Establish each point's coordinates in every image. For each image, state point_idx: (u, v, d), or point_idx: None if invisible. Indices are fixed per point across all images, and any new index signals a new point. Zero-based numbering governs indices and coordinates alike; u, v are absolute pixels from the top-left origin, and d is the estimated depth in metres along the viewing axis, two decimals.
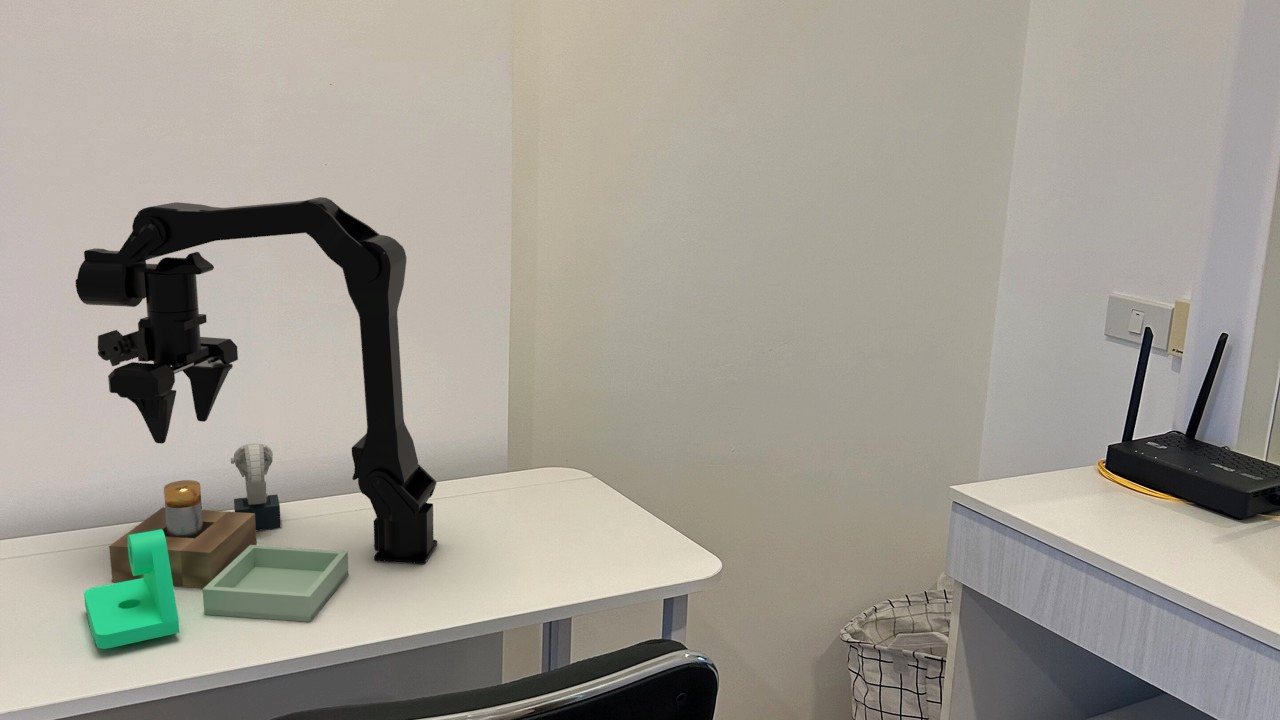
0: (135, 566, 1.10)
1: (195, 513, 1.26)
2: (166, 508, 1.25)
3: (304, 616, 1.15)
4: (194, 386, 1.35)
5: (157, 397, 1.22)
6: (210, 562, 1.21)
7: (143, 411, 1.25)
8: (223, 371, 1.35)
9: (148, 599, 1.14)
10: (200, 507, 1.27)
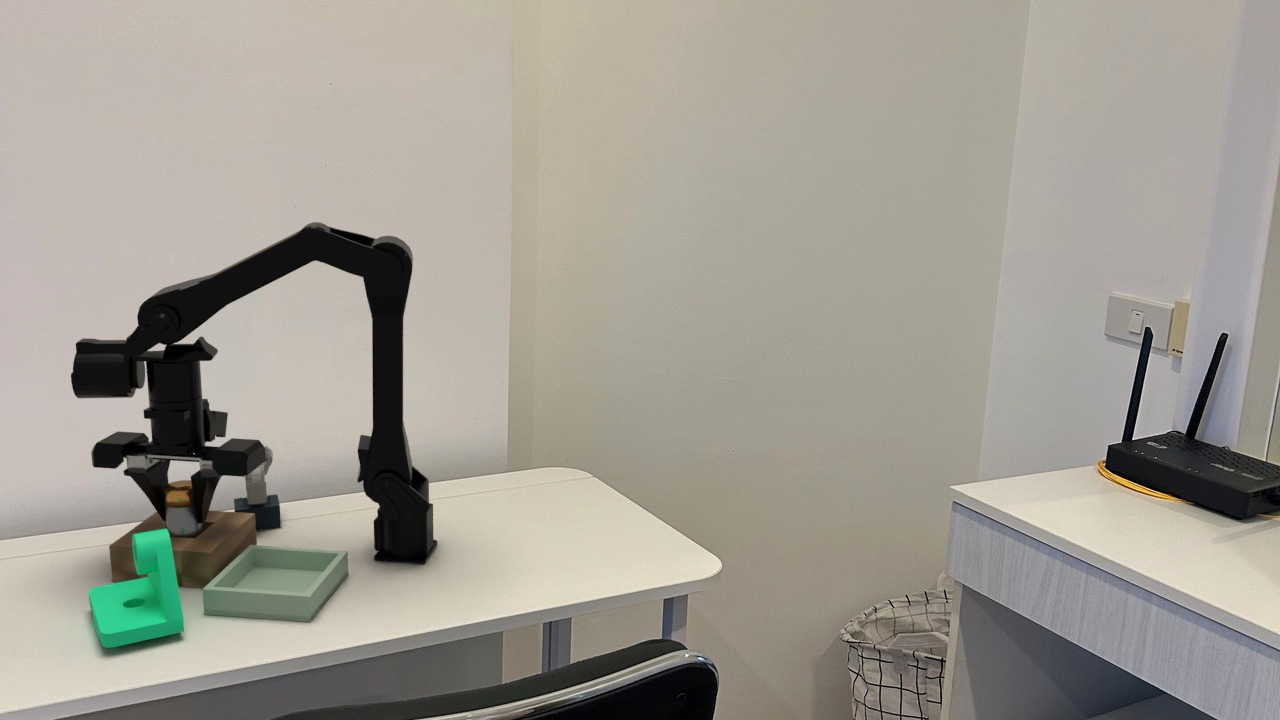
0: (140, 565, 1.11)
1: (195, 513, 1.26)
2: (166, 508, 1.25)
3: (304, 616, 1.15)
4: None
5: (124, 471, 1.23)
6: (210, 562, 1.21)
7: None
8: (191, 478, 1.22)
9: (152, 598, 1.14)
10: None
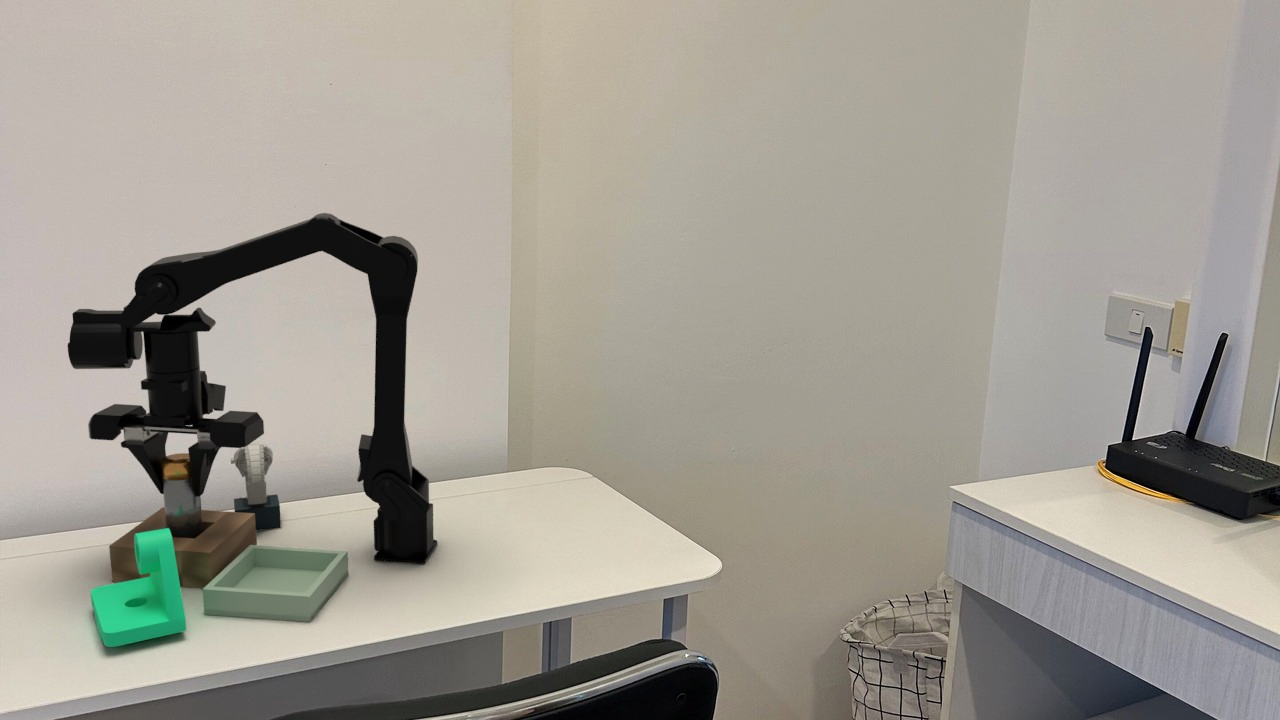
0: (142, 564, 1.11)
1: (192, 486, 1.25)
2: (163, 481, 1.24)
3: (304, 616, 1.15)
4: None
5: (121, 443, 1.23)
6: (210, 562, 1.21)
7: None
8: (189, 450, 1.22)
9: (154, 597, 1.14)
10: None
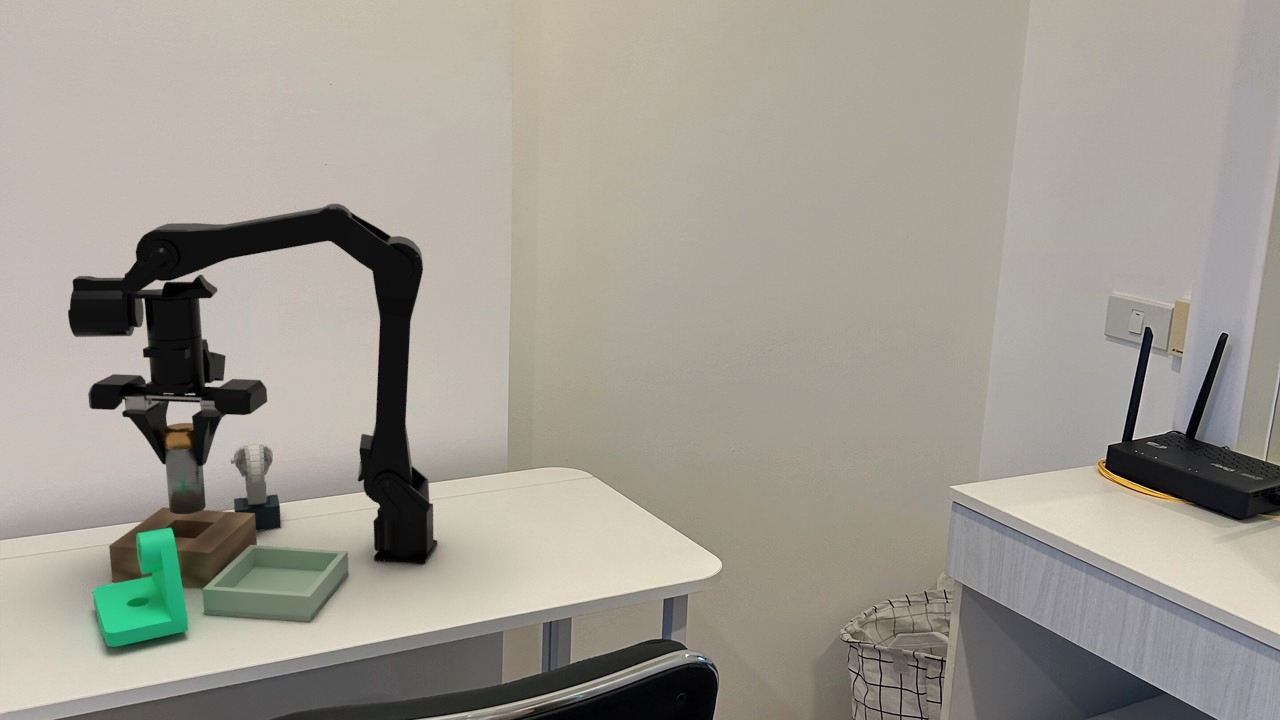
0: (144, 564, 1.11)
1: (195, 455, 1.24)
2: (166, 450, 1.23)
3: (304, 616, 1.15)
4: None
5: None
6: (210, 562, 1.21)
7: None
8: (193, 418, 1.21)
9: (156, 597, 1.15)
10: None
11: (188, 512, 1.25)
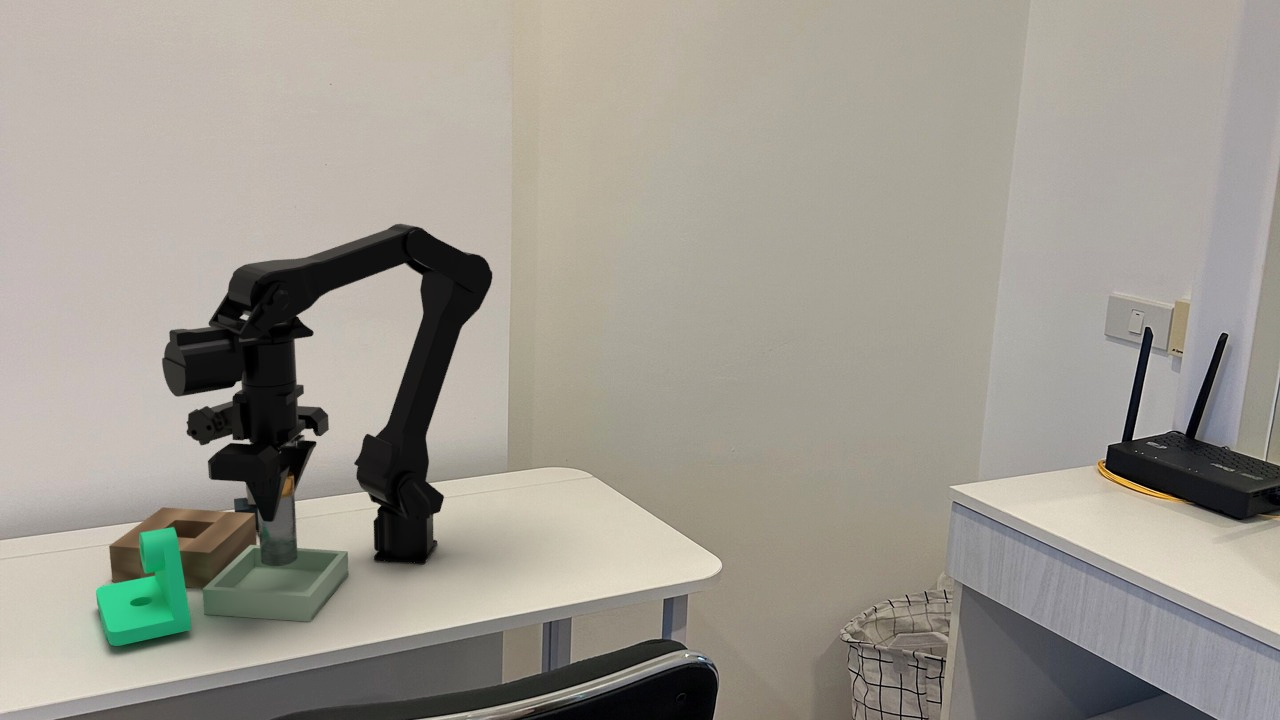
0: (147, 564, 1.11)
1: None
2: (283, 500, 1.17)
3: (304, 616, 1.15)
4: None
5: None
6: (210, 562, 1.21)
7: (252, 488, 1.15)
8: (308, 451, 1.20)
9: (159, 596, 1.15)
10: None
11: (297, 554, 1.21)
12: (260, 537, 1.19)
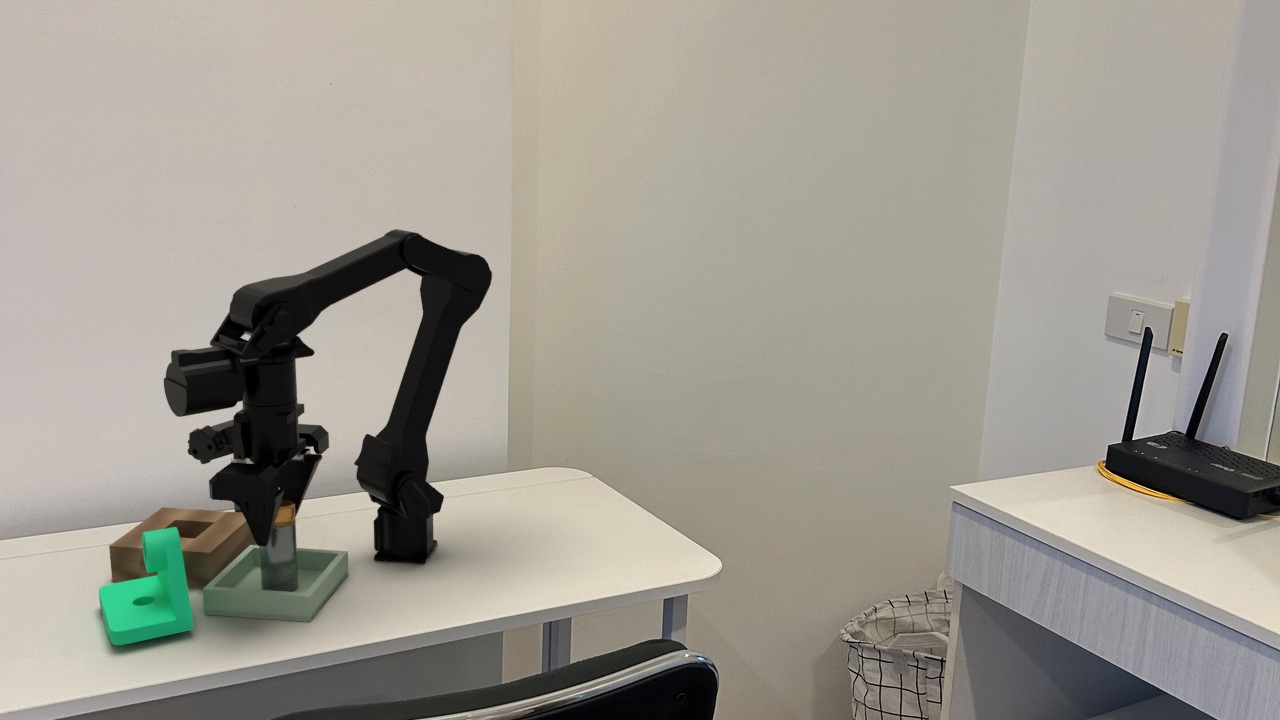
0: (149, 563, 1.11)
1: None
2: (285, 530, 1.19)
3: (304, 616, 1.15)
4: (282, 481, 1.23)
5: None
6: (210, 562, 1.21)
7: (246, 513, 1.14)
8: (314, 464, 1.22)
9: (162, 596, 1.15)
10: None
11: None
12: (261, 566, 1.20)
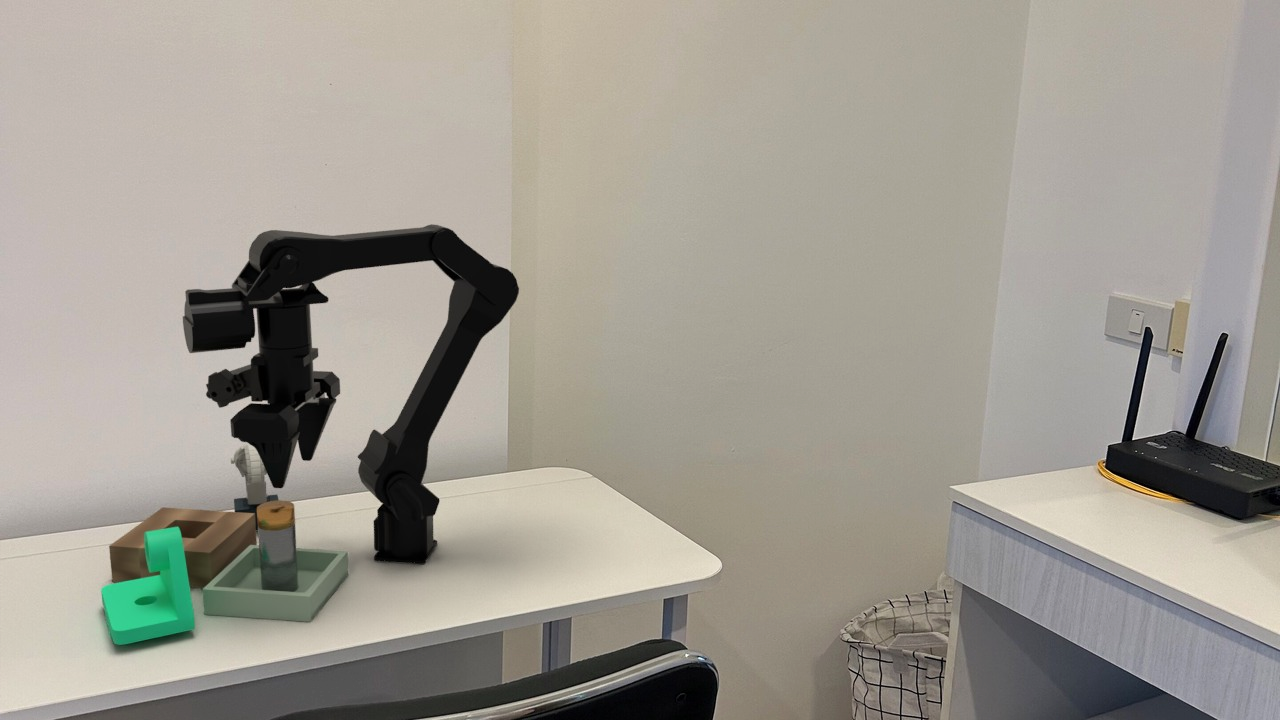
0: (151, 563, 1.11)
1: None
2: (284, 532, 1.18)
3: (304, 616, 1.15)
4: (298, 424, 1.27)
5: (284, 440, 1.14)
6: (210, 562, 1.21)
7: (263, 455, 1.17)
8: (330, 406, 1.27)
9: (164, 595, 1.15)
10: None
11: None
12: (261, 567, 1.20)
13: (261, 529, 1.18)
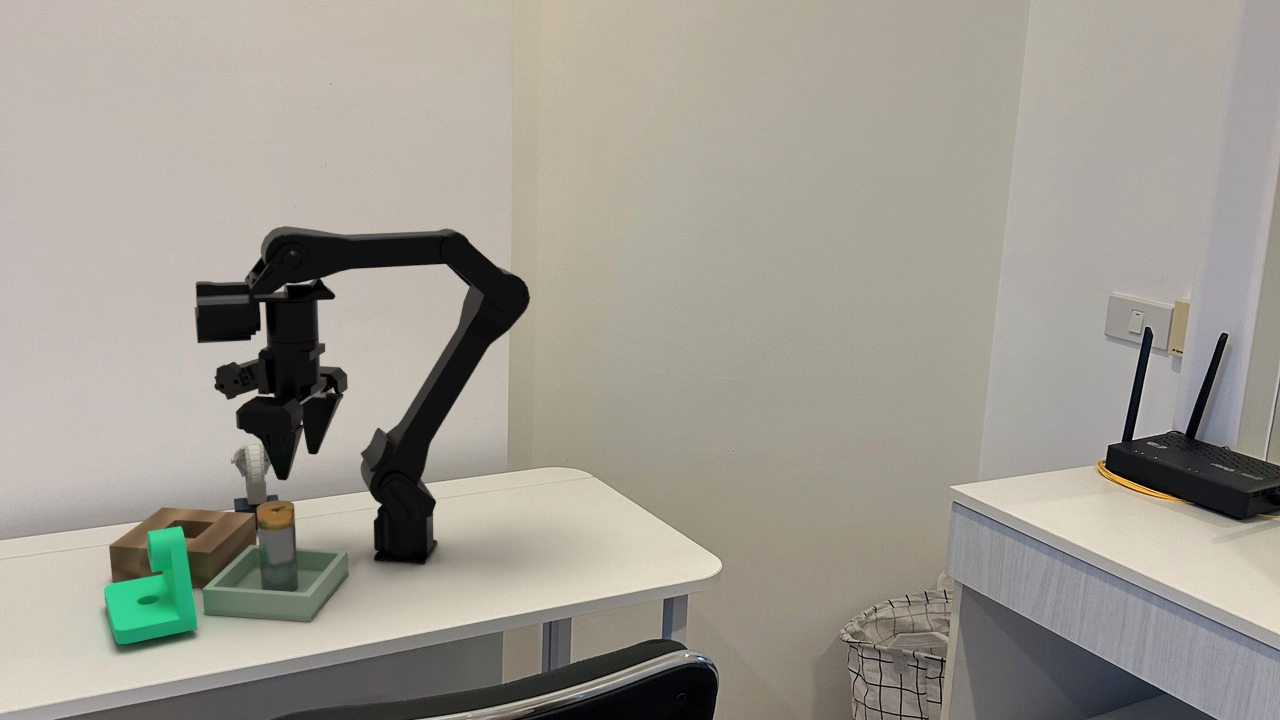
0: (154, 562, 1.11)
1: None
2: (284, 531, 1.18)
3: (304, 616, 1.15)
4: (305, 418, 1.29)
5: (288, 433, 1.16)
6: (210, 562, 1.21)
7: (268, 447, 1.18)
8: (336, 401, 1.29)
9: (166, 595, 1.15)
10: None
11: None
12: (261, 567, 1.20)
13: (261, 529, 1.18)
